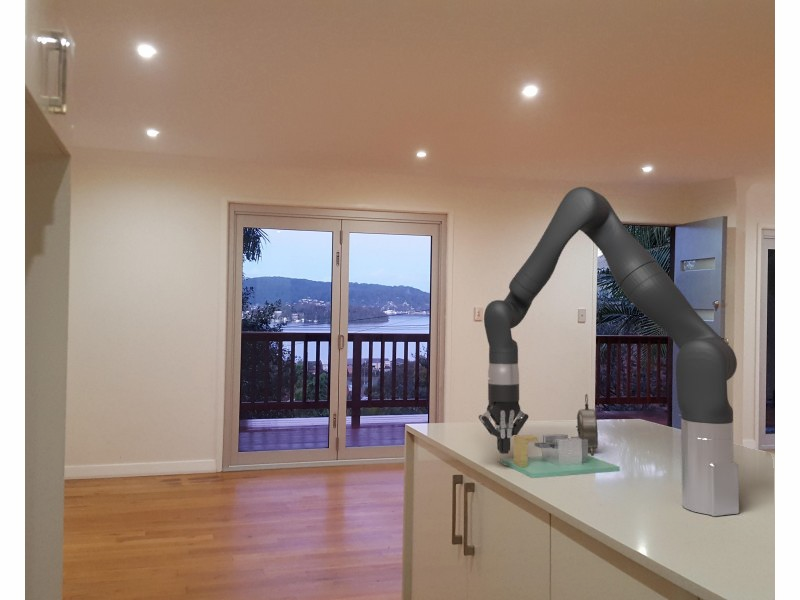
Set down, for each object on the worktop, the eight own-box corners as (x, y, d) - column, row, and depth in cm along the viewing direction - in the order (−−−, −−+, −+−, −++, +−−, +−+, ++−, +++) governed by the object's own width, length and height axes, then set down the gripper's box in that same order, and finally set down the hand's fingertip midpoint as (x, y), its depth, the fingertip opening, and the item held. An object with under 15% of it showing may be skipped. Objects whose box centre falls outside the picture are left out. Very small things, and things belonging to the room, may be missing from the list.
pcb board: (619, 470, 152) (619, 466, 152) (532, 477, 145) (532, 473, 145) (581, 456, 167) (581, 453, 167) (501, 462, 160) (501, 458, 160)
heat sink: (592, 464, 154) (592, 438, 154) (558, 466, 151) (558, 440, 151) (573, 457, 162) (573, 432, 162) (541, 459, 159) (541, 434, 159)
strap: (584, 446, 156) (584, 442, 156) (541, 448, 153) (541, 444, 153) (577, 444, 159) (577, 440, 159) (534, 446, 156) (534, 442, 156)
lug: (538, 466, 152) (538, 437, 152) (521, 467, 150) (521, 438, 151) (530, 462, 156) (530, 434, 156) (513, 463, 154) (513, 435, 154)
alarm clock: (599, 456, 167) (598, 396, 168) (578, 455, 168) (577, 395, 169) (594, 448, 178) (594, 391, 179) (575, 447, 179) (575, 391, 180)
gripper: (485, 384, 146) (485, 458, 145) (535, 382, 150) (535, 454, 150) (472, 381, 153) (472, 451, 153) (520, 379, 157) (520, 448, 157)
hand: (503, 453), depth 151 cm, fingers closed
